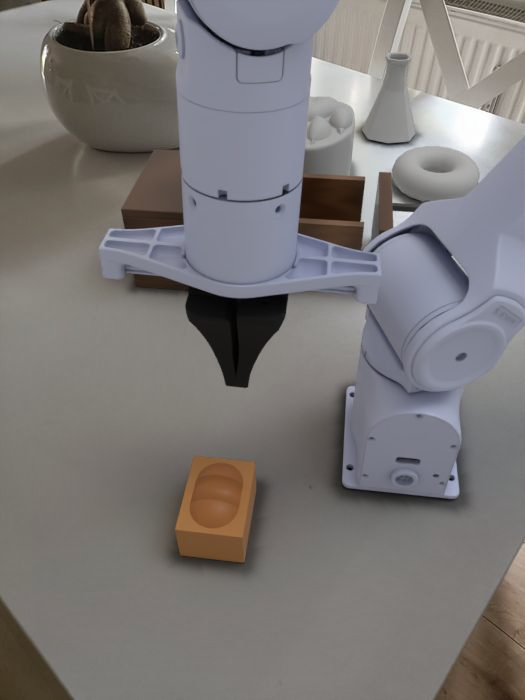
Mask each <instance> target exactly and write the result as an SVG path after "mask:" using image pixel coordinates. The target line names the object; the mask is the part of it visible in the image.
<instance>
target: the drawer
mask: <svg viewBox="0 0 525 700" xmlns="http://www.w3.org/2000/svg"><path fill="white" fill-rule="evenodd" d="M365 185H366V176H365V175H364V176H363V175H361V176H359V175H350V176H345V175H326V174H308V173H303V180H302V191H301V202H300V213H299V224H298V233H299V234H302V235H305V236H309V237H312V238H316V239H319V240H322V241H326V242H329V243H333V244H336V245H339V246H343V247H346V248H350V249H354V250H359V251H362V248H363V247H362V246H363V239H364V238H363V237H364V229H365V222H364V221H362V212H363V204H364V195H365ZM425 202H430V200H425V201H420V203H405V202H404V203H403V202H393V177H392V172H390V171H389V172H387V171H379V172H378V176H377V185H376V193H375V201H374V208H373V209H374V210H373V217H372V224H371V235H370V236H371V237H370V238H371V239H370V242H371V241H372V240H373V239H375V238H376V237H377V236H379V235H380V234H382V233H384V232H386V231H388V230H390V229H392V228H394V212H401V213H402V212H404V213H414V211H415V210H416V209H417V208H418V207H419V206H420V205H421V204H422V203H425Z"/></svg>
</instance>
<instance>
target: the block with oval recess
mask: <svg viewBox="0 0 525 700" xmlns="http://www.w3.org/2000/svg"><path fill="white" fill-rule="evenodd" d="M190 465H191V466H190V469H189V473H188V477H187V481H186V485H185V488H184V491H183V492H184V493H183V496H182V500H181V504H180V508H179V511H178V515H177V518H176V519H177V520H176V523H175V527H174V532H175V538H176V542H177V546H178V551H179V552H178V553H179V555H180V556H183V557H191V558H200V559H209V560H217V561H225V562H232V563H241V564H244V563H245V561H246V560H245V559H246V556H247V549H248V544H249V537H250V530H251V524H252V519H253V513H254V507H255V501H256V495H257V466H256V465H257V463H256V461H249V460H242V459H241V460H240V459H229V458H220V457H210V456H200V455H194V456H193V458H192V462H191V464H190Z"/></svg>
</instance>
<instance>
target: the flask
mask: <svg viewBox="0 0 525 700" xmlns="http://www.w3.org/2000/svg"><path fill="white" fill-rule="evenodd" d="M412 59H413V57H412V55H411V54H410V53H408V52H404V51H390V52H387V54H386V55H385V61H386V68H385V74H384V77H383V81H382V83H381V84H382V85H381V87H380V90H379V92H378V94H377V96H376V99H375V100H374V103H373V105H372V107H371V109H370V112H369V113H368V116H367V117H366V119H365V122H364V124H363V126H362V128H361V131H362V132H363V134H364V136H365V137H366V139H367V140H371V141H375V142H381V143H384V144H394V143H395V144H396V143H407V142H411V140H412V138H413V137H414V136H415V135H416V134H417V131H416V125H415V121H414V117H413V112H412V107H411V106H412V105H411V101H410V96H409V90H408V69H409V64H410V62H412Z"/></svg>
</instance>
